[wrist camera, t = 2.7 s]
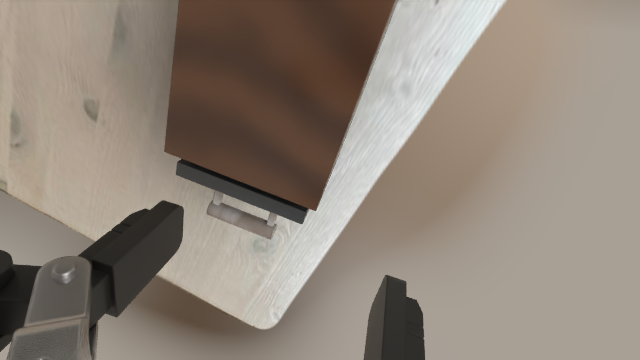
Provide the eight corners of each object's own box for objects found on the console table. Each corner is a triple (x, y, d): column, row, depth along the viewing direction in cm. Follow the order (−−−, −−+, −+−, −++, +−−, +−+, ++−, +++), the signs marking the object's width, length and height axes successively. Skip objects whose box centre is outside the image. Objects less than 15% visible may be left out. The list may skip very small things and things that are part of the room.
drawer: (307, 220, 35) (287, 266, 29) (209, 182, 35) (170, 219, 29) (376, 33, 26) (368, 45, 20) (244, -16, 26) (198, -19, 21)
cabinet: (336, 161, 32) (315, 211, 25) (218, 116, 33) (163, 151, 25) (403, -13, 25) (402, -15, 18) (251, -69, 26) (187, -94, 18)
